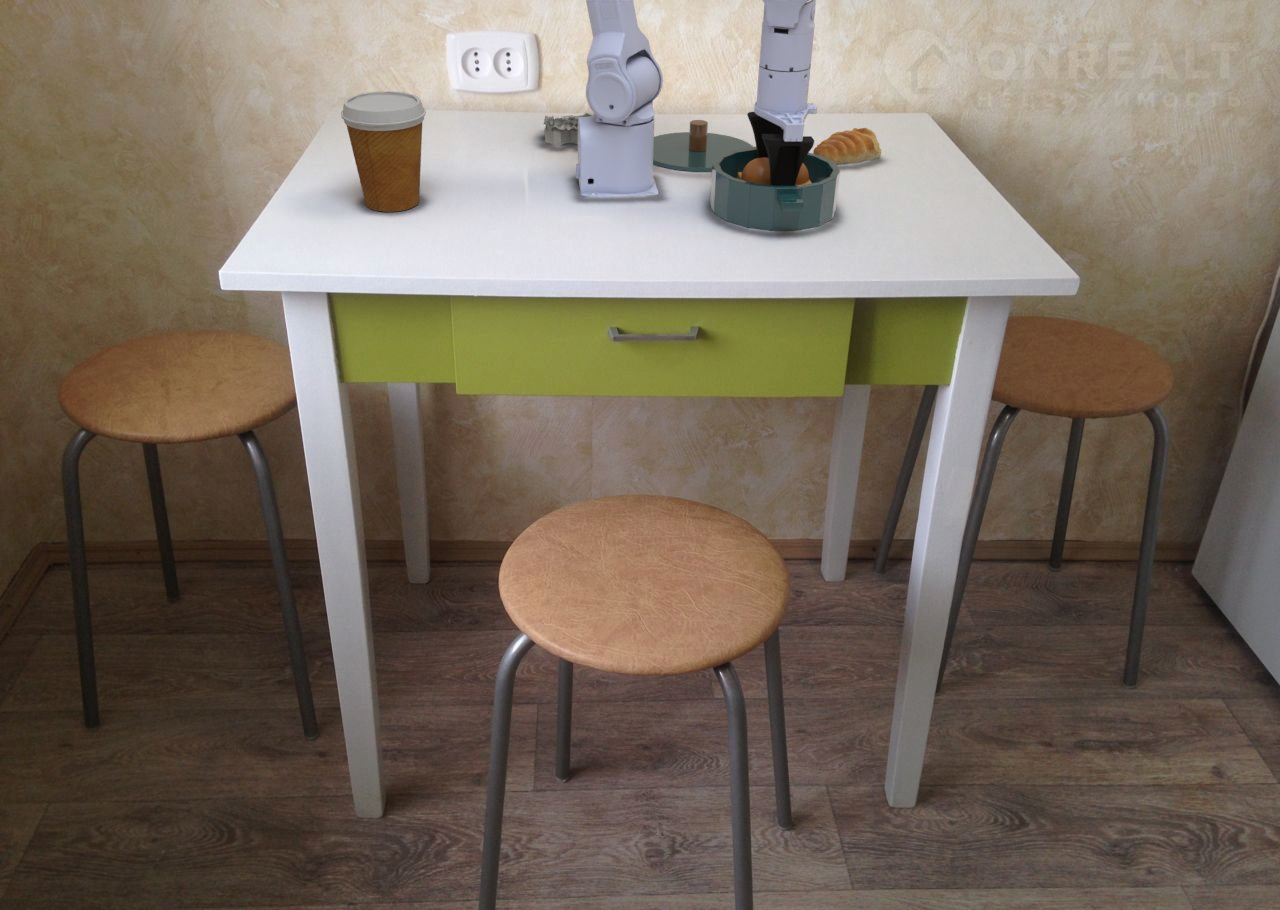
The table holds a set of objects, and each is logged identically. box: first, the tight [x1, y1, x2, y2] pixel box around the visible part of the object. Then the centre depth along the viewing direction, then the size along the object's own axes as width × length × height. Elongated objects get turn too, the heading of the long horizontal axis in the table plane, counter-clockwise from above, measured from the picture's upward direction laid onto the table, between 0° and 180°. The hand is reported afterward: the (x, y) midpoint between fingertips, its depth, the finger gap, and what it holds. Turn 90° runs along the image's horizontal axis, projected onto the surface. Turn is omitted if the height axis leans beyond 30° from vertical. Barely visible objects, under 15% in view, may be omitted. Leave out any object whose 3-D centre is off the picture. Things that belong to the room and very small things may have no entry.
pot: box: [709, 146, 841, 232], centre depth 134 cm, size 15×20×6 cm
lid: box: [653, 119, 754, 173], centre depth 152 cm, size 16×16×5 cm
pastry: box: [812, 127, 882, 166], centre depth 152 cm, size 9×7×4 cm
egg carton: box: [543, 112, 595, 147], centre depth 156 cm, size 11×8×4 cm
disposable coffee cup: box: [340, 90, 427, 213], centre depth 133 cm, size 10×10×12 cm
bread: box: [737, 158, 811, 186], centre depth 134 cm, size 8×5×6 cm, turn 96°
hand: (774, 184), depth 134 cm, fingers open, 7 cm apart
